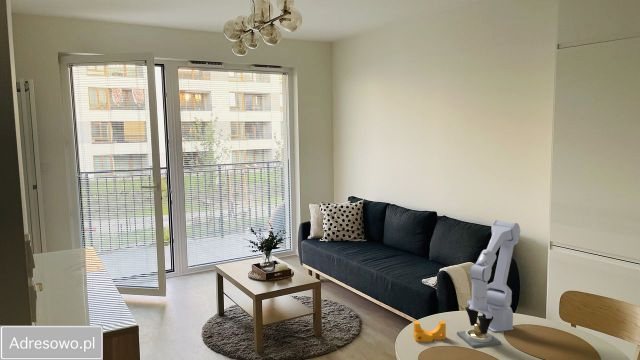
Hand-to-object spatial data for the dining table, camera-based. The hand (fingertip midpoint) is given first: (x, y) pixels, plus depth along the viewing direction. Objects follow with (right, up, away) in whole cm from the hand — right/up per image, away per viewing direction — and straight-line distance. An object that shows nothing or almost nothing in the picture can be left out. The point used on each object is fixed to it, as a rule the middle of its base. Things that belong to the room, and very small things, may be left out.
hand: (478, 329), depth 184 cm
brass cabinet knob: (0, -3, 0) cm, 3 cm away
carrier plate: (0, -4, 0) cm, 4 cm away
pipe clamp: (-19, -5, +1) cm, 19 cm away
